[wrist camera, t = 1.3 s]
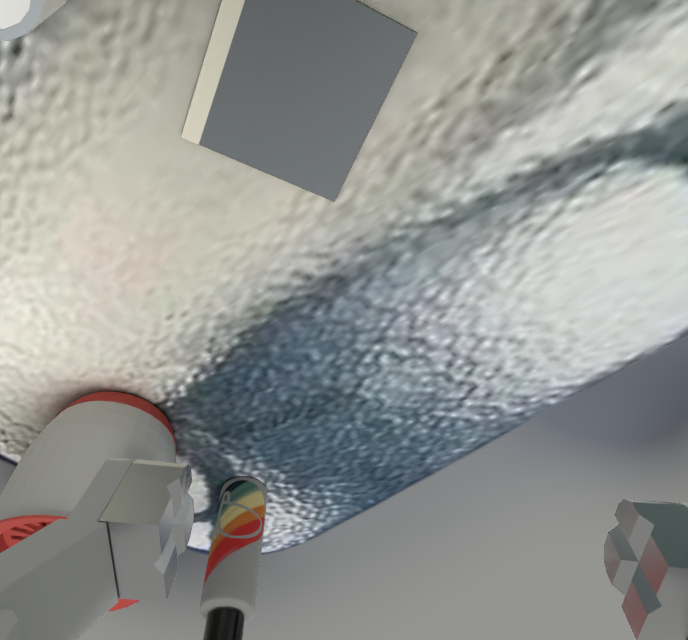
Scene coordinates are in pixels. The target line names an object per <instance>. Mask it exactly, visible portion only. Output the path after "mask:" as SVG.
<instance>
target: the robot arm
mask: <svg viewBox="0 0 688 640" xmlns="http://www.w3.org/2000/svg"><path fill="white" fill-rule="evenodd" d="M191 483H192V475H191V467H190V466H189V465H188V464H180V463H170V462H160V461H151V460H141V459H137V460H135V459H126V458H117V457H110V458H109V459H107V460H106V461H104V463H103V464H102V466H101V467H100V469H99V470H98V472H97V473H96V475H95V476H94V478H93V480H92V481H91V483H90V484H89V486H88V487H87V489H86V490H85V492H84V493H83V495H82V497H81V498H80V500H79V501H78V503H77V504H76V506H75V507H74V509H73V510H72V512H71V514H70V515H69V517H68V518H67V519H58V520H56V521H54V522H53V523H51V524H49V525H47V526H46V527H44V528H42V529H41V530H39V531H37V532H36V533H34V534H32V535H30V536H29V537H27V538H25V539H24V540H22V541H20V542H19V543H17V544H15V545H13V546H12V547H10V548H8V549H7V550H5V551H3V552H2V553H0V640H77V639H78V638H79V637H80V636H82V635H83V634H84V633H85V632H86V631H87V630H88V629H89V628H90V627H92V626H93V625H94V624H95V623H96V622H97V621H98V620H99V619H100V618H101V617H102V616H103V615H104V614H106V613H107V612H108V611H109V610H110V609H111V608H112V607H113V606H114V605H115V604H117V603H118V599H131V600H151V601H167V598H168V596H169V593H170V590H171V588H172V585H173V582H174V579H175V577H176V574H177V572H178V562H177V556H178V555H180V554H181V553H182V552H183V551H185V550H186V547H187V544H188V542H189V539H190V535H191V530H192V525H193V517H194V500H193V498H192V497H191V496H190V495H189V494H188V490H189V488H190V485H191ZM615 516H616V518H617V520H618V522H619V525H618V526H616V527H615V528H614V529H612V530H611V531H610V532H608V535H607V538H606V542H605V545H604V562H605V566H606V571H607V574H608V577H609V579H610V581H611V584H612V585H613V586H614V587H615V588H617V589H618V590H619V591H620V592H621V593H622V594H623V595H625V598H624V601H623V604H622V609H623V611H624V613H625V615H626V617H627V620H628V622H629V624H630V626H631V629H632V631H633V633H634V635H635V637H636V640H688V503H672V502H658V501H645V500H644V501H643V500H630V499H623V500H622V502H621V503H620V504H619V505H618V507H617V510H616V513H615Z"/></svg>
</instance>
